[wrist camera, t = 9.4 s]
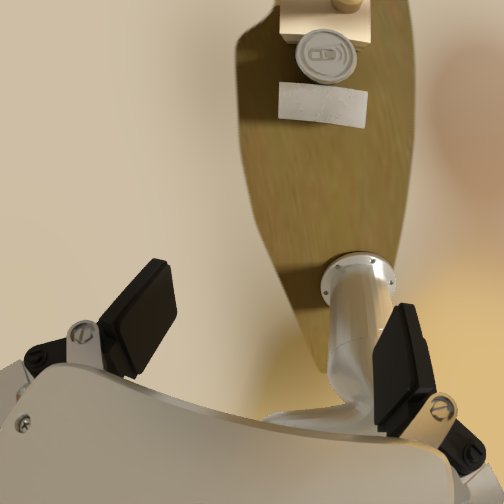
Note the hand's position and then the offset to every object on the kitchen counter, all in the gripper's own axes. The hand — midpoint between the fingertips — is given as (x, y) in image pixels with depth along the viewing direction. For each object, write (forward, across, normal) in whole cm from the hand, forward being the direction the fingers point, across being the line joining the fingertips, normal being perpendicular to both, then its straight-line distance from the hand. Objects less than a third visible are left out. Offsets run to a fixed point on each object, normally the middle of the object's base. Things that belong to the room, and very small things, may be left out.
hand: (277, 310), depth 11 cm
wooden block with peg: (+28, 0, -18) cm, 34 cm away
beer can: (+29, 0, -12) cm, 31 cm away
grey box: (+29, 0, -8) cm, 30 cm away
